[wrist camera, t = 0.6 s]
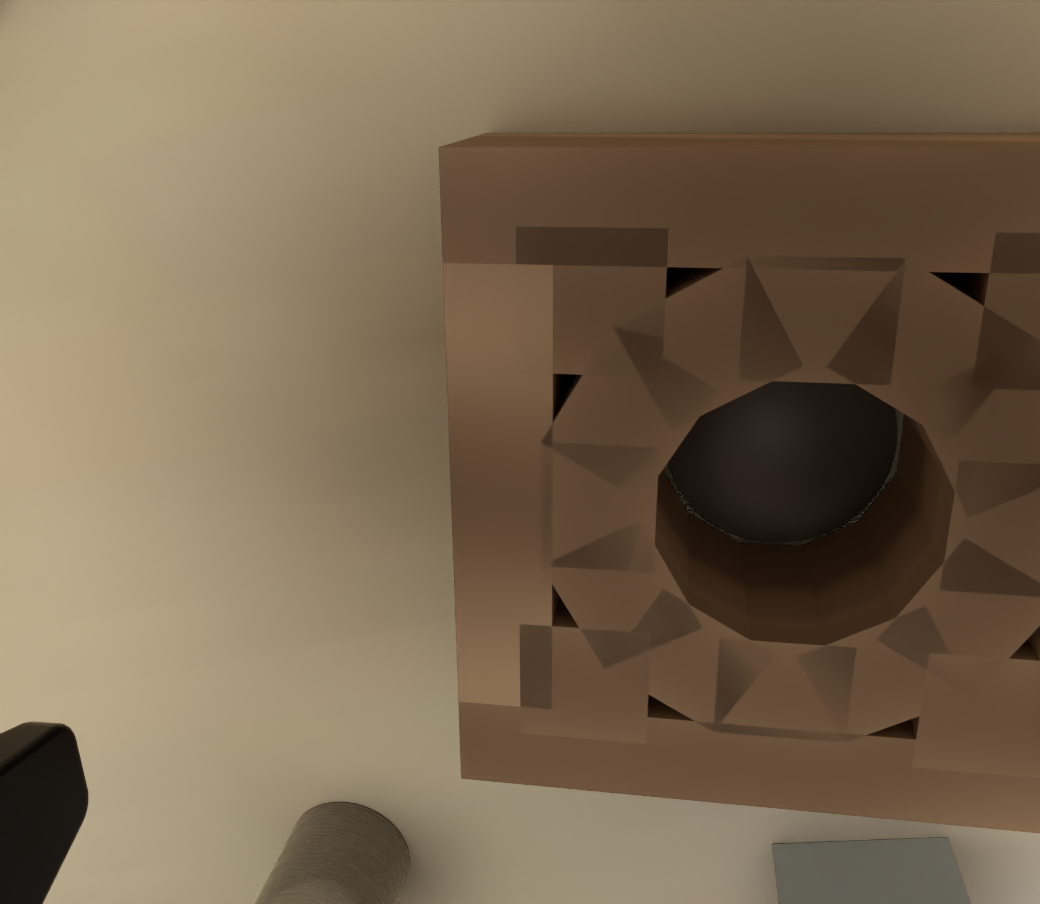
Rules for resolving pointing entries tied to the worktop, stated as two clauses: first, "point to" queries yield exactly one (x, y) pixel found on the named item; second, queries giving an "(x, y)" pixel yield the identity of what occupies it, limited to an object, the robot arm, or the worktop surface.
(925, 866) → the gray rectangular block
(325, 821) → the cylinder
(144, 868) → the worktop surface
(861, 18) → the worktop surface
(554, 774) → the bore block
